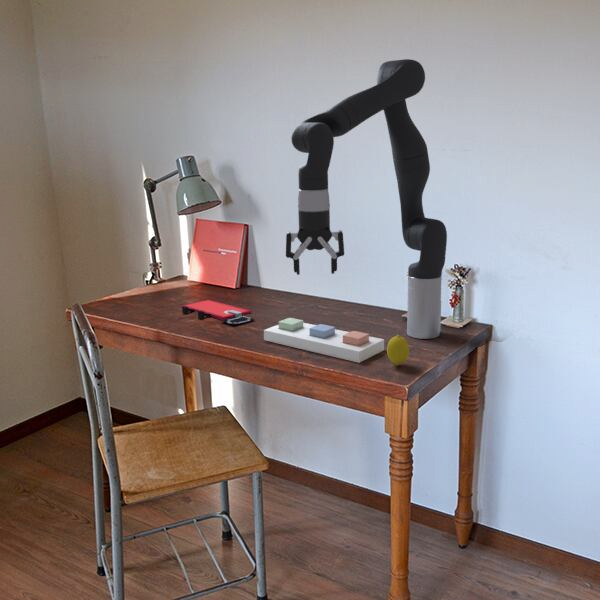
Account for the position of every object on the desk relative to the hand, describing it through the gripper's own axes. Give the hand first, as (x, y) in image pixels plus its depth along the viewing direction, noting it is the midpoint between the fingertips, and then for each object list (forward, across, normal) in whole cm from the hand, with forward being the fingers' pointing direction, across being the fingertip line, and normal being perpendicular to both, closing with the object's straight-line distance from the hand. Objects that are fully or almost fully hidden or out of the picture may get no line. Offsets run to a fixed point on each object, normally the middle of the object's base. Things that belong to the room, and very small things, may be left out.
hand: (315, 273), depth 175 cm
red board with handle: (+24, +31, -47) cm, 62 cm away
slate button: (+21, -2, -14) cm, 26 cm away
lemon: (+24, -20, +3) cm, 31 cm away
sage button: (+21, +7, -21) cm, 31 cm away
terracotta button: (+21, -10, -8) cm, 25 cm away
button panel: (+24, -2, -14) cm, 28 cm away
